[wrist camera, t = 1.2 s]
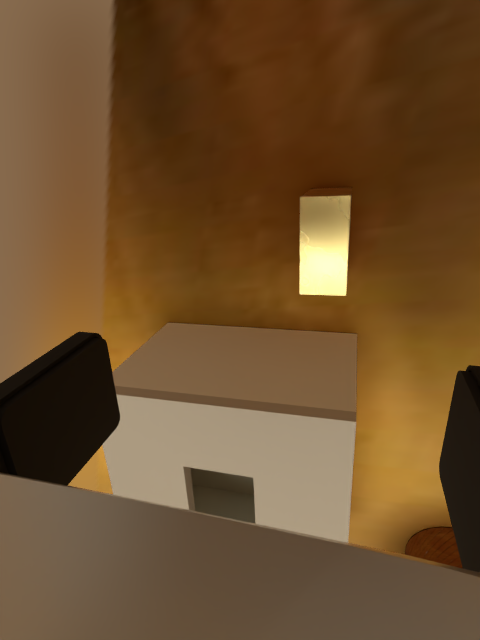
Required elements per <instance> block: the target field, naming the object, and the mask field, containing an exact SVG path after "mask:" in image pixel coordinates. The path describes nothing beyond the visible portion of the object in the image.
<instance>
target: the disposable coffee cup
mask: <svg viewBox="0 0 480 640" xmlns="http://www.w3.org/2000/svg"><path fill="white" fill-rule="evenodd" d="M405 555H409V556H413V557H417V558H421V559H425V560H429V561H433V562H437V563H442V564H446V565H450V566H454V567H458V568H462V564H461V560H460V556H459V551H458V547H457V543H456V539H455V535H454V531H453V528H444V527H440V528H431V529H426V530H424V531H421V532H419V533H417V534H416V535H414V536H413V537H412V538H411V539H410V540H409V541H408V543H407V545H406V550H405ZM462 569H463V568H462Z"/></svg>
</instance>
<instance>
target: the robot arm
mask: <svg viewBox="0 0 480 640" xmlns="http://www.w3.org/2000/svg"><path fill="white" fill-rule="evenodd" d="M119 422H120V412H119V406H118V401H117V395H116V390H115V385H114V379H113V374H112V369H111V363H110V358H109V352H108V347H107V343H106V341H105V340H104V339H102V337H101V335H99V334H98V333H87V332H78V333H76V334H74V335H73V336H71V337H70V338H68V339H67V340H65V341H64V342H62V343H61V344H60V345H58V346H56V347H55V348H53V349H52V350H50V351H49V352H47V353H46V354H44V355H43V356H41V357H40V358H38V359H37V360H35V361H34V362H32V363H31V364H29V365H28V366H26V367H25V368H23V369H22V370H20V371H19V372H17V373H15V374H14V375H12V376H11V377H9V378H8V379H6V380H5V381H4V382H2V383H0V640H480V366H471V365H469V366H468V367H467V369H466V371H458V373H457V376H456V381H455V386H454V391H453V396H452V401H451V406H450V411H449V416H448V421H447V427H446V432H445V437H444V442H443V447H442V452H441V457H440V463H439V472H440V479H441V483H442V487H443V491H444V495H445V499H446V503H447V507H448V511H449V515H450V519H451V523H452V527H453V531H454V535H455V539H456V543H457V547H458V551H459V556H460V560H461V564H462V568H463V569H462V568H458V567H454V566H450V565H446V564H442V563H437V562H433V561H429V560H425V559H421V558H417V557H413V556H409V555H405V554H400V553H394V552H390V551H385V550H380V549H375V548H371V547H366V546H361V545H356V544H352V543H347V542H342V541H337V540H332V539H328V538H323V537H318V536H313V535H308V534H304V533H299V532H294V531H289V530H284V529H279V528H275V527H270V526H265V525H260V524H255V523H251V522H246V521H241V520H236V519H231V518H226V517H222V516H217V515H212V514H207V513H202V512H197V511H192V510H187V509H182V508H177V507H172V506H167V505H162V504H157V503H152V502H148V501H143V500H138V499H133V498H128V497H123V496H118V495H113V494H108V493H103V492H98V491H92V490H87V489H82V488H77V487H72V486H67V485H68V484H69V483H70V482H71V480H72V479H73V478H74V477H75V476H76V474H77V473H78V472H79V471H80V470H81V469H82V468H83V466H84V465H85V464H86V463H87V462H88V461H89V460H90V458H91V457H92V456H93V455H94V454H95V453H96V451H97V450H98V449H99V448H100V447H101V446H102V444H103V443H104V442H105V441H106V440H107V439H108V437H109V436H110V435H111V434H112V433H113V432H114V430H115V429H116V428H117V427H118V424H119Z"/></svg>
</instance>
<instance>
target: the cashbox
mask: <svg viewBox="0 0 480 640" xmlns="http://www.w3.org/2000/svg"><path fill="white" fill-rule="evenodd" d="M112 374H113V379H114V385H115V390H116V395H117V401H118V406H119V412H120V422H119V424H118V427H117V428H116V429H115V430H114V432H113V433H112V434H111V435H110V436H109V437H108V439H107V440H106V441H105V442H104V443H103V444H102V445H103V449H104V454H105V458H106V463H107V467H108V472H109V476H110V481H111V486H112V490H113V495H118V496H123V497H128V498H133V499H138V500H143V501H148V502H152V503H157V504H162V505H167V506H172V507H177V508H182V509H187V510H192V511H197V512H202V513H207V514H212V515H217V516H222V517H226V518H231V519H236V520H241V521H246V522H251V523H255V524H260V525H265V526H270V527H275V528H279V529H284V530H289V531H294V532H299V533H304V534H308V535H313V536H318V537H323V538H328V539H332V540H337V541H342V542H347V543H348V536H349V521H350V506H351V491H352V476H353V461H354V447H355V432H356V392H357V334H353V333H336V332H319V331H302V330H285V329H268V328H251V327H234V326H217V325H200V324H183V323H167V324H166V325H165V326H164V327H163V328H161V329H160V330H159V331H158V332H157V333H156V334H155V335H154V336H152V337H151V338H150V339H149V340H148V341H147V342H146V343H145V344H143V345H142V346H141V347H140V348H139V349H138V350H137V351H136V352H134V353H133V354H132V355H131V356H130V357H129V358H128V359H127V360H126V361H124V362H123V363H122V364H121V365H120V366H119V367H118V368H117V369H115V370H114V371H113V372H112Z"/></svg>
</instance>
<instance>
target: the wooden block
mask: <svg viewBox="0 0 480 640" xmlns="http://www.w3.org/2000/svg"><path fill="white" fill-rule="evenodd" d="M351 203H352V187H336V188H311V189H310V190H309V191H307V192H306V193H305V194H303V195H302V196H301V197H300V294H312V295H341V296H346V288H347V277H348V263H349V243H350V223H351Z"/></svg>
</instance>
